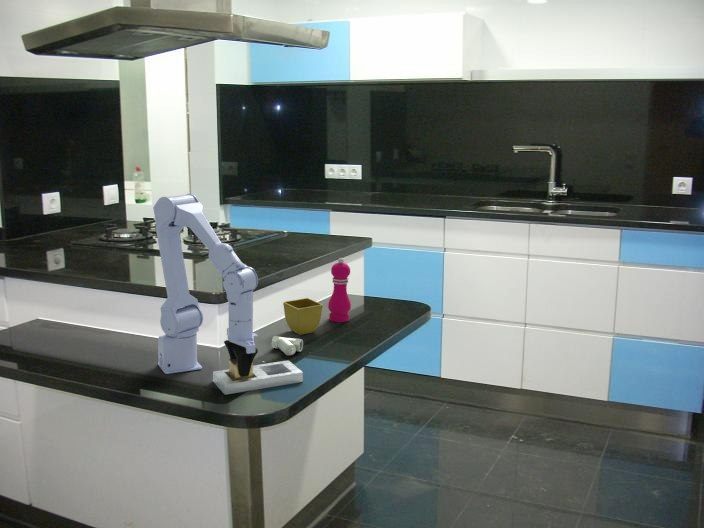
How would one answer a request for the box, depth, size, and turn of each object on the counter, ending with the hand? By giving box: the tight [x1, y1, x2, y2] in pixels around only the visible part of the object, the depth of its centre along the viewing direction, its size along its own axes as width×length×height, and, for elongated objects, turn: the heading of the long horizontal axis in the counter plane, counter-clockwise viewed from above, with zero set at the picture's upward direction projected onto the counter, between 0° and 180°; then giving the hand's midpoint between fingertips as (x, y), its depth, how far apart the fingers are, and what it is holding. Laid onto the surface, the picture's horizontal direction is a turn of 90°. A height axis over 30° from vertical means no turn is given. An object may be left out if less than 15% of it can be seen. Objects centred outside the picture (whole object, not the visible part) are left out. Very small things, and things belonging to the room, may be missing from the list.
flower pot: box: [282, 297, 324, 336], centre depth 216 cm, size 9×9×9 cm
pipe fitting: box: [271, 335, 304, 357], centre depth 200 cm, size 8×4×7 cm
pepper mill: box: [327, 257, 352, 323], centre depth 229 cm, size 7×7×20 cm
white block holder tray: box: [212, 360, 304, 395], centre depth 178 cm, size 20×9×2 cm, turn 118°
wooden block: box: [228, 358, 254, 381], centre depth 176 cm, size 4×4×6 cm
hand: (240, 372), depth 176 cm, fingers closed on wooden block, 4 cm apart
